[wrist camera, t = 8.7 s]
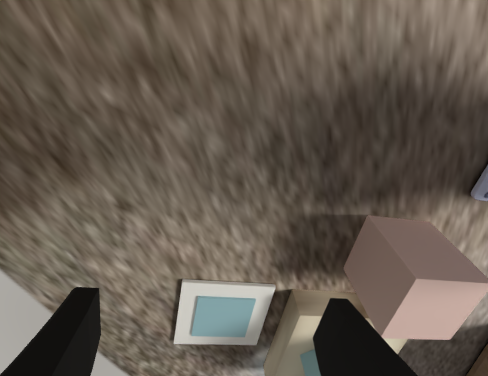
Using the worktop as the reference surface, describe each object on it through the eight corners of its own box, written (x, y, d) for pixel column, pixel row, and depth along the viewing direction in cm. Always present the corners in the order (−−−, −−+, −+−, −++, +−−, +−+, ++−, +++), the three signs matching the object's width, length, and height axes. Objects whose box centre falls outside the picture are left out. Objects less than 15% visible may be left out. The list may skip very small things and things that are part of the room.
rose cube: (429, 221, 23) (493, 283, 18) (400, 271, 26) (449, 339, 21) (367, 214, 22) (416, 278, 17) (342, 268, 25) (379, 338, 20)
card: (274, 284, 25) (276, 289, 24) (255, 341, 28) (256, 347, 28) (182, 279, 23) (182, 284, 23) (174, 340, 27) (173, 346, 26)
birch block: (400, 290, 28) (420, 320, 25) (357, 360, 32) (371, 391, 30) (290, 283, 26) (300, 315, 23) (262, 359, 30) (267, 392, 28)
